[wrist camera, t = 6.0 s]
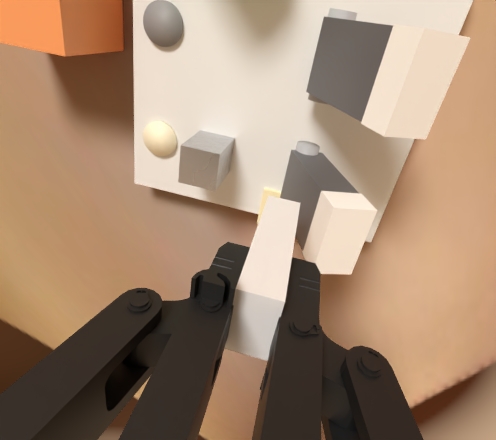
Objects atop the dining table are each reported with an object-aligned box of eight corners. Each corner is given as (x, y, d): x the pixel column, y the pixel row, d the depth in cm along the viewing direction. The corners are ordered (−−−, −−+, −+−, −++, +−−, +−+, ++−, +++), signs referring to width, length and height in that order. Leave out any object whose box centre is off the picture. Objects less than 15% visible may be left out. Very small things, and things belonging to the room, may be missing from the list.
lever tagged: (274, 201, 23) (310, 279, 17) (289, 139, 21) (336, 200, 15) (303, 203, 24) (349, 279, 17) (320, 142, 21) (380, 203, 15)
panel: (146, 180, 28) (132, 191, 26) (149, -81, 20) (128, -93, 18) (365, 235, 26) (368, 251, 24) (472, -29, 18) (490, -35, 16)
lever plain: (298, 95, 20) (380, 145, 13) (318, 6, 17) (428, 15, 11) (329, 99, 20) (422, 147, 14) (353, 13, 18) (475, 26, 12)
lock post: (197, 163, 24) (178, 182, 21) (200, 130, 23) (180, 145, 20) (229, 171, 24) (215, 191, 21) (234, 138, 23) (219, 154, 20)
